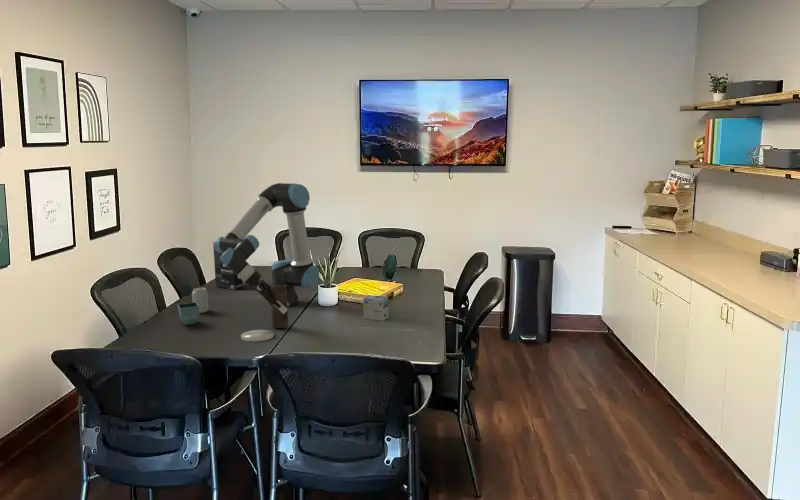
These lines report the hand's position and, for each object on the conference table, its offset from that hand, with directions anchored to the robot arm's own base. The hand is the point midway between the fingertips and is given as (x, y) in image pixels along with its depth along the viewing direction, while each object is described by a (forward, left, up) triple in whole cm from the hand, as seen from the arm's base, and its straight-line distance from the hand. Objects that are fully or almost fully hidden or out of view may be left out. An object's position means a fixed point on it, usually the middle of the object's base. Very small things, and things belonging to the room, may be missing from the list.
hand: (286, 309), depth 301 cm
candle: (+3, -2, -9) cm, 9 cm away
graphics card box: (-5, -98, -9) cm, 98 cm away
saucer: (+17, +6, -9) cm, 20 cm away
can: (+25, -52, -9) cm, 58 cm away
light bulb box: (-42, +9, -9) cm, 44 cm away
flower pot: (+36, -33, -9) cm, 49 cm away
